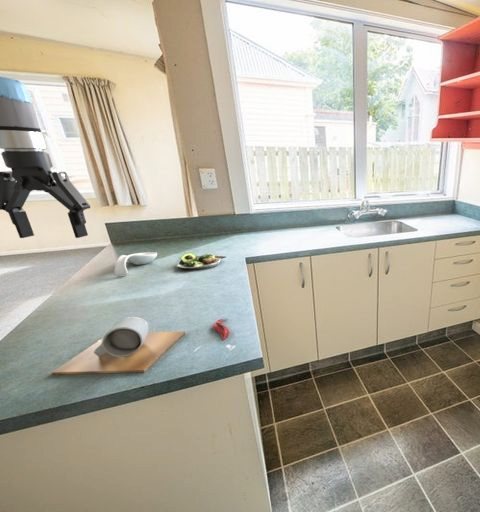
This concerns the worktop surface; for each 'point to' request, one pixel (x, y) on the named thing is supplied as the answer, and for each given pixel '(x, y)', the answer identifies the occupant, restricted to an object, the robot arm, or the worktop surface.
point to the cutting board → (136, 362)
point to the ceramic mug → (124, 337)
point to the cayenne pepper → (221, 329)
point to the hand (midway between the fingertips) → (54, 236)
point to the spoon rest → (132, 261)
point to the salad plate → (198, 261)
